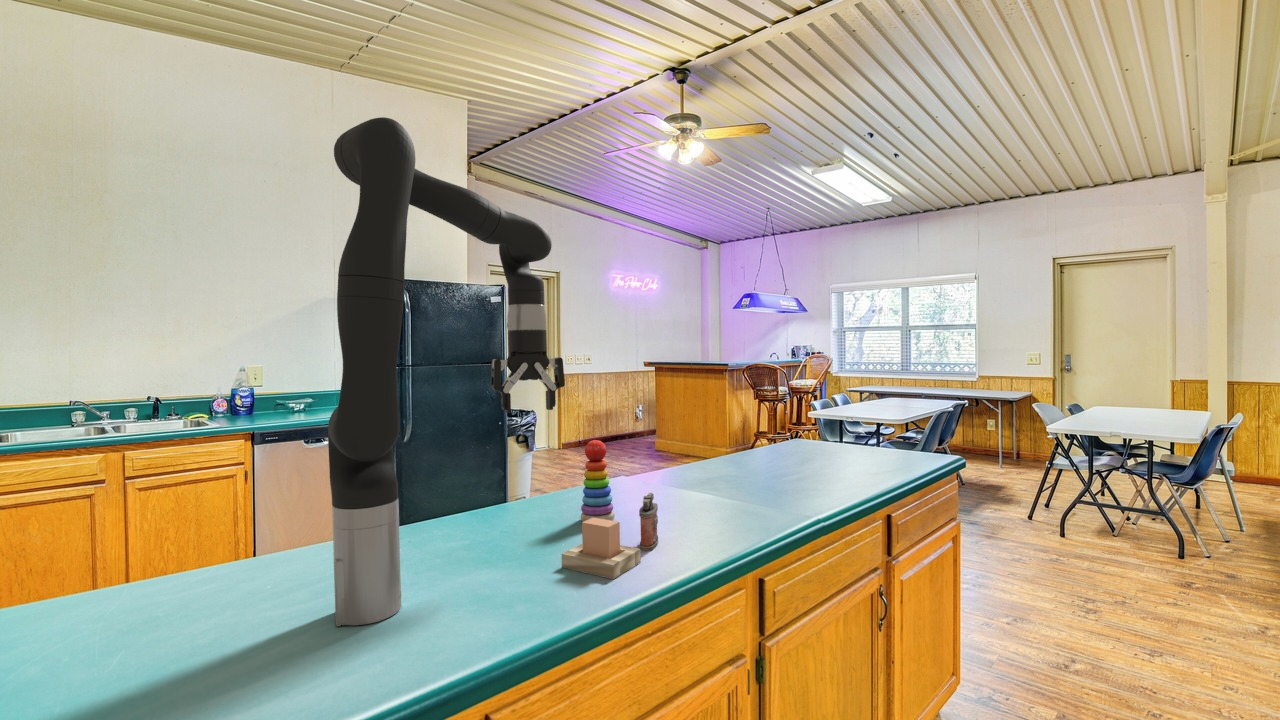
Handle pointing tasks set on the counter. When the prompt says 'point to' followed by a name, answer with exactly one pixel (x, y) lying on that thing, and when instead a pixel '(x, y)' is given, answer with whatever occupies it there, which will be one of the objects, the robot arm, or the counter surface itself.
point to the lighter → (648, 523)
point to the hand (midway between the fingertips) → (529, 411)
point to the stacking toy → (596, 484)
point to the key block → (601, 538)
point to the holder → (601, 561)
